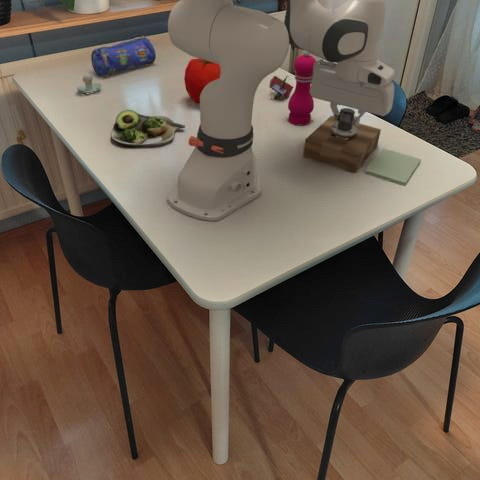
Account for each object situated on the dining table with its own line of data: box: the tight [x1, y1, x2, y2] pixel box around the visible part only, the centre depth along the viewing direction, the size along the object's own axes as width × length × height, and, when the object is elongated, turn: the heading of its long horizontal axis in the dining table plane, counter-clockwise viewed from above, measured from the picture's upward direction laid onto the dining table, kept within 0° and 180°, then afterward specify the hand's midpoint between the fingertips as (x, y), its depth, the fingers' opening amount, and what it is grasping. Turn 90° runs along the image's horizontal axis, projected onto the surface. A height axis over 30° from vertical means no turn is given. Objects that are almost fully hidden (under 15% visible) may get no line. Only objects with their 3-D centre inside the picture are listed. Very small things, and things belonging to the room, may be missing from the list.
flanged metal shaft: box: [331, 107, 357, 141], centre depth 127 cm, size 6×6×11 cm
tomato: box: [183, 58, 221, 105], centre depth 147 cm, size 13×13×13 cm
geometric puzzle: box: [268, 75, 295, 100], centre depth 154 cm, size 7×7×8 cm
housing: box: [302, 115, 382, 174], centre depth 129 cm, size 16×14×5 cm
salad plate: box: [110, 109, 186, 148], centre depth 134 cm, size 19×18×5 cm
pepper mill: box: [287, 50, 317, 126], centre depth 137 cm, size 7×7×20 cm
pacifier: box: [76, 73, 102, 94], centre depth 153 cm, size 7×6×6 cm
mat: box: [364, 148, 422, 186], centre depth 125 cm, size 13×10×1 cm
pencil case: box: [90, 35, 156, 77], centre depth 167 cm, size 22×9×10 cm, turn 134°
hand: (345, 122), depth 125 cm, fingers closed on flanged metal shaft, 4 cm apart
